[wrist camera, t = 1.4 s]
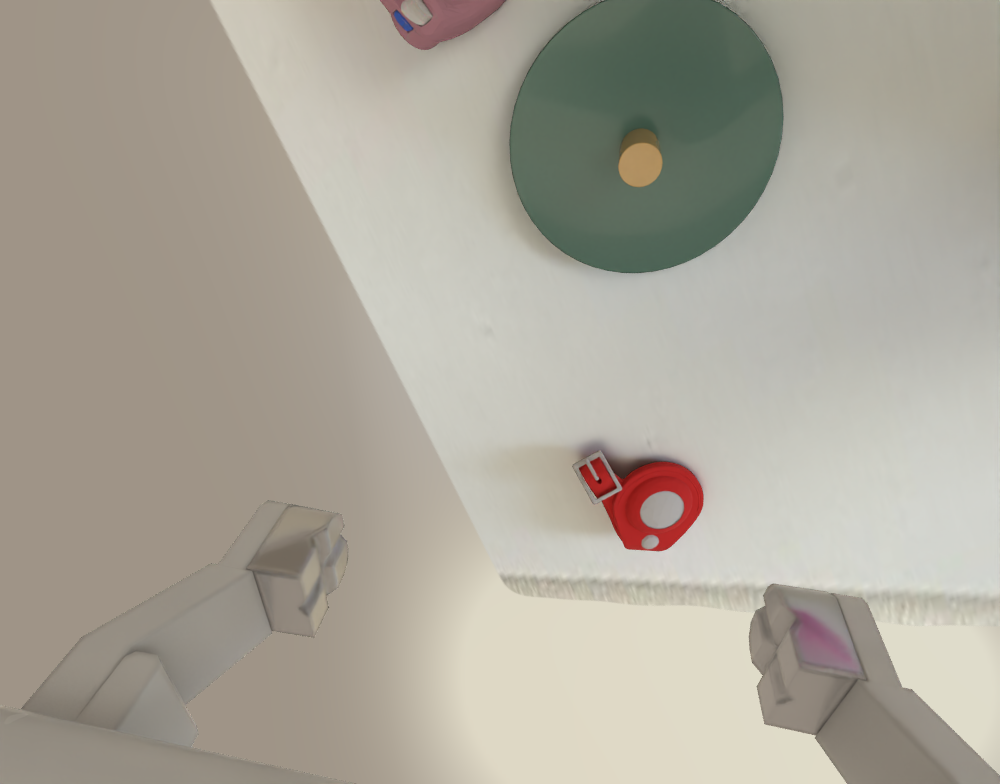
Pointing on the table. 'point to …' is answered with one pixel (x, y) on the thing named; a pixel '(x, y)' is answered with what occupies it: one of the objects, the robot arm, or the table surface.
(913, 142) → the table surface
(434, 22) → the video game controller
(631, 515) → the tracker holder
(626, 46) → the tin lid
